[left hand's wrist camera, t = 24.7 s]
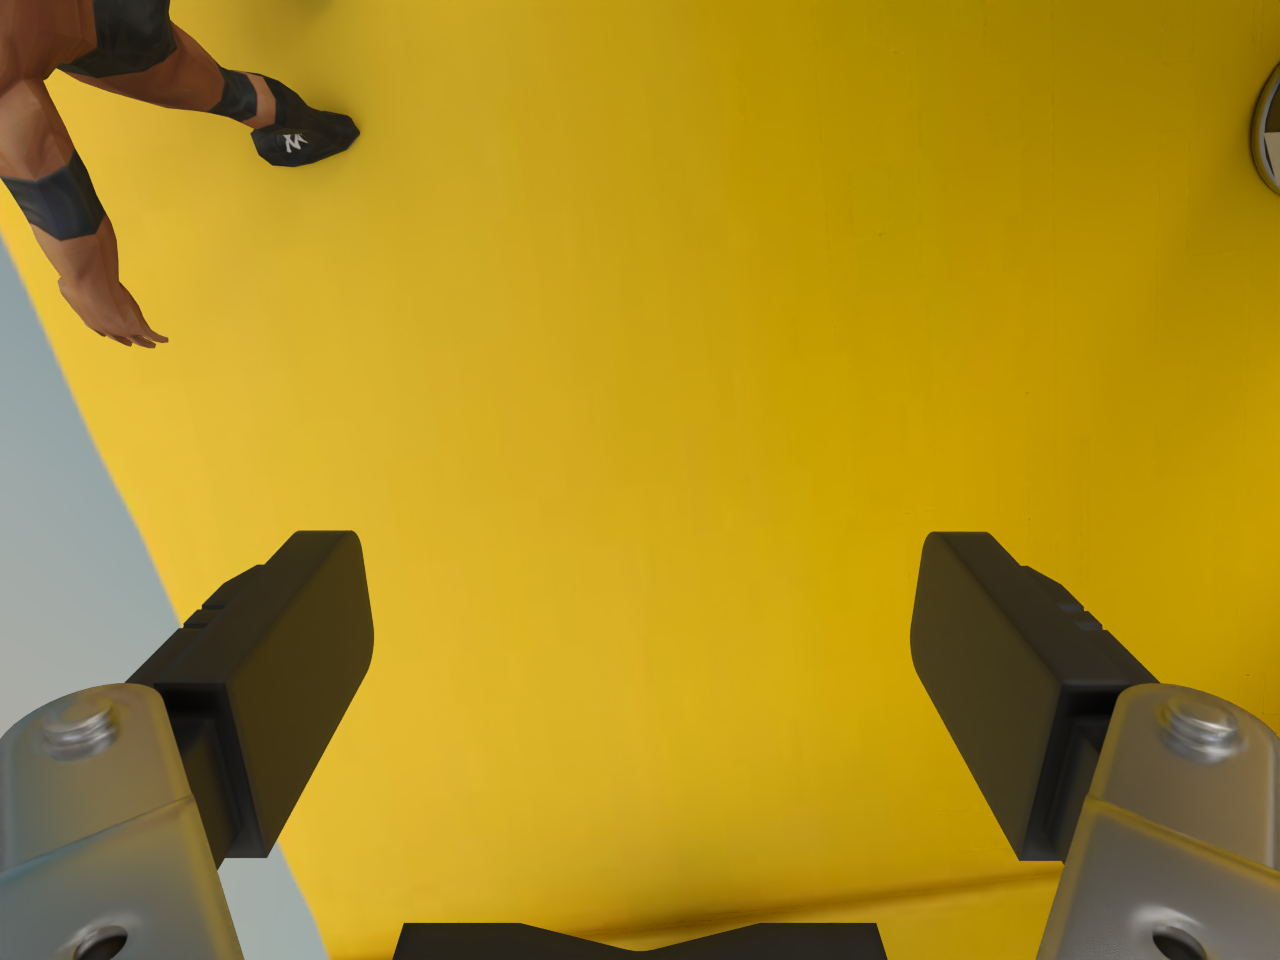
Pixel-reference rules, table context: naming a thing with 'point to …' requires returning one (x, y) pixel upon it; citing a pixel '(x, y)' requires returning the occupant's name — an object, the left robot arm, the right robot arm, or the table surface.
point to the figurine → (140, 69)
